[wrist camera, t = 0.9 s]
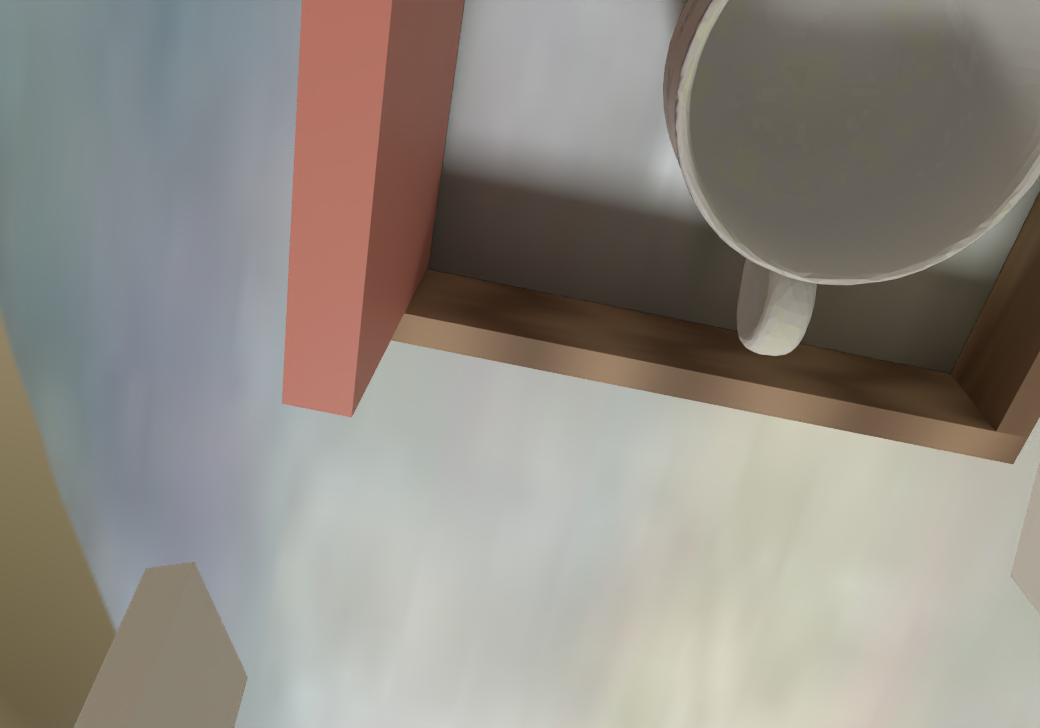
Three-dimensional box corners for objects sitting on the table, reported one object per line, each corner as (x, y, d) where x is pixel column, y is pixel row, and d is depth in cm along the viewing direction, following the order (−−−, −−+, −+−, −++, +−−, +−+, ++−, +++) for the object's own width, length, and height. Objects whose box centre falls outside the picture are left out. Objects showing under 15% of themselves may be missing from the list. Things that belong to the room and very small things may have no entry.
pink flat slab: (498, -248, 26) (428, -371, 15) (428, 265, 34) (351, 417, 23) (435, -261, 26) (321, -393, 15) (380, 255, 34) (282, 403, 23)
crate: (1249, -152, 26) (1368, -167, 22) (966, 404, 35) (1013, 464, 31) (443, -319, 25) (414, -365, 21) (378, 286, 35) (350, 331, 31)
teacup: (747, -164, 27) (801, -197, 20) (1038, -25, 28) (1189, -10, 21) (575, 221, 33) (568, 301, 26) (817, 321, 34) (874, 423, 27)
